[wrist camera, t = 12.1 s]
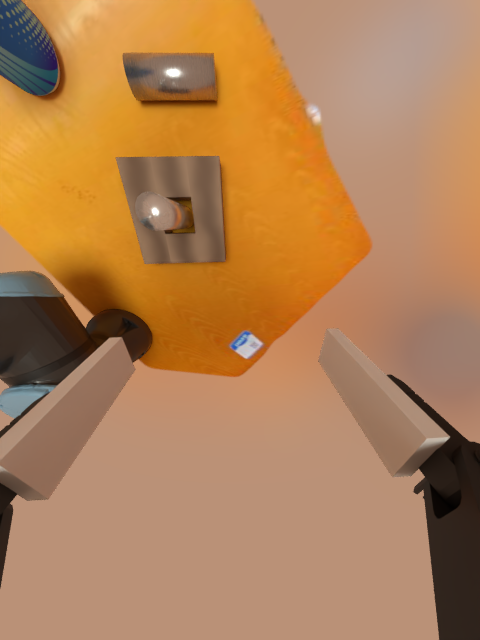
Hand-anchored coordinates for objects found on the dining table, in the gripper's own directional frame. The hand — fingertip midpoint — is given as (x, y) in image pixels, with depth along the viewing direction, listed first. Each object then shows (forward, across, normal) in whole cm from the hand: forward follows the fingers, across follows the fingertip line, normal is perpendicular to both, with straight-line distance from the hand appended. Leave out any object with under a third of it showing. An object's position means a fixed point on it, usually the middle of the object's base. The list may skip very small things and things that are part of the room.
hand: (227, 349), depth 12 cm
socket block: (+32, -9, +9) cm, 34 cm away
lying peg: (+29, -7, +25) cm, 38 cm away
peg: (+32, -9, +9) cm, 34 cm away
